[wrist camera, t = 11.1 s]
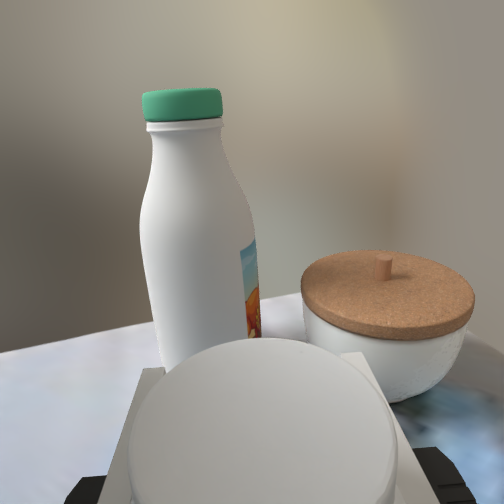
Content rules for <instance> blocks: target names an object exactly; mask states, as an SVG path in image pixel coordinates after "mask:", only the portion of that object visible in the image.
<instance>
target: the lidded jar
mask: <svg viewBox="0 0 504 504" xmlns="http://www.w3.org/2000/svg"><path fill="white" fill-rule="evenodd" d="M301 294H302V298H303V318H304V324H305V331H306V336H307V339H308V343H309V344H312V345H315V346H318V347H321V348H323V349H325V350H328V351H330V352H332V353H334V354H336V355H337V356H339V357H340V353H353V352H362V353H363V355H364V357H365V359H366V361H367V363H368V365H369V367H370V369H371V371H372V373H373V375H374V377H375V379H376V381H377V383H378V384H379V386H380V388H381V390H382V392H383V394H384V396H385V398H386V400H387V402H388V403H396V402H400V401H403V400H405V399H407V398H409V397H412V396H416V395H419V394H421V393H423V392H425V391H427V390H429V389H430V388H432V387H433V386H434V385H436V384H437V383H439V382H440V380H441V379H442V378H443V377H444V376H445V375H446V374H447V373H448V371H449V370H450V369H451V367H452V366H453V364H454V362H455V360H456V358H457V356H458V354H459V351H460V349H461V346H462V344H463V341H464V338H465V334H466V331H467V326H468V321H469V319H470V317H471V315H472V312H473V309H474V303H475V294H474V292H473V289H472V288H471V286H470V285H469V283H468V282H467V281H466V280H465V279H464V278H463V277H462V276H461V275H460V274H458V273H457V272H455V271H454V270H452V269H450V268H448V267H446V266H444V265H442V264H440V263H437V262H435V261H432V260H429V259H426V258H422V257H419V256H415V255H410V254H405V253H399V252H393V251H381V250H359V251H348V252H342V253H337V254H333V255H329V256H326V257H324V258H321V259H319V260H317V261H315V262H314V263H312V264H311V265H310V266H309V267H308V268H307V269H306V270H305V271H304V273H303V275H302V278H301Z"/></svg>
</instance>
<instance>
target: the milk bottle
mask: <svg viewBox="0 0 504 504" xmlns="http://www.w3.org/2000/svg"><path fill="white" fill-rule="evenodd" d="M142 106H143V112H144V117H145V120H146V121H149V122H147V132H149V133H150V134H151V137H152V142H153V157H152V166H151V172H150V177H149V181H148V185H147V189H146V192H145V195H144V199H143V203H142V208H141V215H140V242H141V248H142V256H143V263H144V269H145V275H146V280H147V286H148V292H149V297H150V303H151V308H152V314H153V319H154V324H155V330H156V335H157V341H158V346H159V351H160V356H161V361H162V366H163V367H165V370H166V373H168V372H169V371H170V370H171V369H173V368H174V367H175V366H177V365H178V364H179V363H181V362H183V361H184V360H186V359H188V358H190V357H191V356H193V355H195V354H197V353H199V352H201V351H203V350H206V349H209V348H211V347H214V346H217V345H220V344H224V343H228V342H232V341H237V340H243V339H251V338H262V335H261V317H260V299H259V283H258V269H257V268H258V267H257V252H256V242H255V232H254V225H253V220H252V214H251V211H250V207H249V204H248V202H247V199H246V197H245V195H244V193H243V191H242V189H241V187H240V185H239V183H238V181H237V179H236V177H235V176H234V174H233V172H232V170H231V167H230V165H229V163H228V160H227V157H226V155H225V152H224V149H223V145H222V141H221V128H222V127H223V126H224V124H223V122H222V118H221V117H220V116H222V114H223V108H222V97H221V93H220V91H219V90H218V89H215V88H188V89H171V90H158V91H152V92H146V93H144V94H143V95H142Z"/></svg>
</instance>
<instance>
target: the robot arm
mask: <svg viewBox="0 0 504 504" xmlns="http://www.w3.org/2000/svg"><path fill="white" fill-rule="evenodd" d="M340 357H341V358H343V359H344V360H346V361H347V362H349V363H350V364H352V365H353V366H354V367H356V368H357V369H358V370H359V371H360V372H361V373H362V374H363V375H365V376H366V377H367V378H368V379H369V380H370V381H371V383H372V384H373V385H374V386H375V388H376V389H377V390H378V392H379V393H380V395H381V396H382V398H383V399H384V401H385V403H386V405H387V407H388V409H389V411H390V414H391V416H392V419H393V422H394V426H395V430H396V435H397V442H398V466H397V476H396V485H397V487H398V488H399V490H400V492H401V494H402V496H403V498H404V500H405V502H406V504H477V503H476V499H475V498H474V496H473V494H472V493H471V491H470V490H469V488H468V487H466V484H465V481H464V480H463V478H462V476H461V475H460V473H459V472H458V470H457V468H456V467H455V465H454V463H453V462H452V461H451V460H449V459H448V458H447V457H446V456H445V455H444V454H443V453H442V452H441V451H440V450H439V449H438V448H437V447H427V448H415V449H411V447H410V445H409V443H408V441H407V439H406V437H405V435H404V433H403V431H402V429H401V427H400V425H399V423H398V421H397V419H396V417H395V416H394V414H393V412H392V410H391V408H390V406H389V404H388V402H387V400H386V398H385V396H384V394H383V392H382V390H381V388H380V386H379V384H378V383H377V381H376V379H375V377H374V375H373V373H372V371H371V369H370V367H369V365H368V363H367V361H366V359H365V357H364V355H363V353H362V352H353V353H340ZM165 374H166V370H165V367H159V368H146V369H143V371H142V374H141V377H140V380H139V383H138V386H137V389H136V391H135V394H134V397H133V400H132V403H131V406H130V409H129V412H128V415H127V418H126V421H125V424H124V427H123V430H122V433H121V436H120V439H119V442H118V444H117V447H116V450H115V453H114V456H113V459H112V462H111V465H110V468H109V471H108V474H107V475H105V476H93V477H82V478H81V480H80V481H79V482H78V483H77V485H76V486H75V487H74V488H73V490H72V491H71V492H70V493H69V495H68V496H67V498H66V500H65V502H64V504H130V503H131V500H132V498H133V495H132V490H131V485H130V480H129V475H128V467H127V447H128V440H129V435H130V431H131V427H132V423H133V420H134V418H135V415H136V413H137V411H138V409H139V407H140V405H141V404H142V402H143V400H144V398H145V397H146V395H147V394H148V392H149V391H150V390H151V389H152V387H153V386H154V385H155V384H156V383H157V382H158V381H159V380H160V379H161V378H162V377H163V376H164V375H165Z"/></svg>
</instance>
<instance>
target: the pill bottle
mask: <svg viewBox="0 0 504 504" xmlns="http://www.w3.org/2000/svg"><path fill="white" fill-rule="evenodd" d="M397 466H398V442H397V435H396V430H395V426H394V422H393V419H392V416H391V414H390V411H389V409H388V407H387V405H386V403H385V401H384V399H383V398H382V396H381V395H380V393H379V392H378V390H377V389H376V388H375V386H374V385H373V384H372V383H371V381H370V380H369V379H368V378H367V377H366V376H365V375H363V374H362V373H361V372H360V371H359V370H358V369H357V368H356V367H354V366H353V365H352V364H350V363H349V362H347V361H346V360H344V359H343V358H341V357H339V356H337V355H336V354H334V353H332V352H330V351H328V350H325V349H323V348H321V347H318V346H315V345H312V344H309V343H305V342H301V341H296V340H290V339H283V338H251V339H243V340H237V341H232V342H228V343H224V344H220V345H217V346H214V347H211V348H209V349H206V350H203V351H201V352H199V353H197V354H195V355H193V356H191V357H190V358H188V359H186V360H184V361H183V362H181V363H179V364H178V365H177V366H175V367H174V368H173V369H171V370H170V371H169V372H168V373H166V374H165V375H164V376H163V377H162V378H161V379H160V380H159V381H158V382H157V383H156V384H155V385H154V386H153V387H152V389H151V390H150V391H149V392H148V394H147V395H146V397H145V398H144V400H143V402H142V404H141V405H140V407H139V409H138V411H137V413H136V415H135V418H134V420H133V423H132V427H131V431H130V435H129V440H128V447H127V467H128V475H129V480H130V485H131V490H132V495H133V498H132V500H131V503H130V504H406V502H405V500H404V498H403V496H402V494H401V492H400V490H399V488H398V487H397V485H396V476H397Z"/></svg>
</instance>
